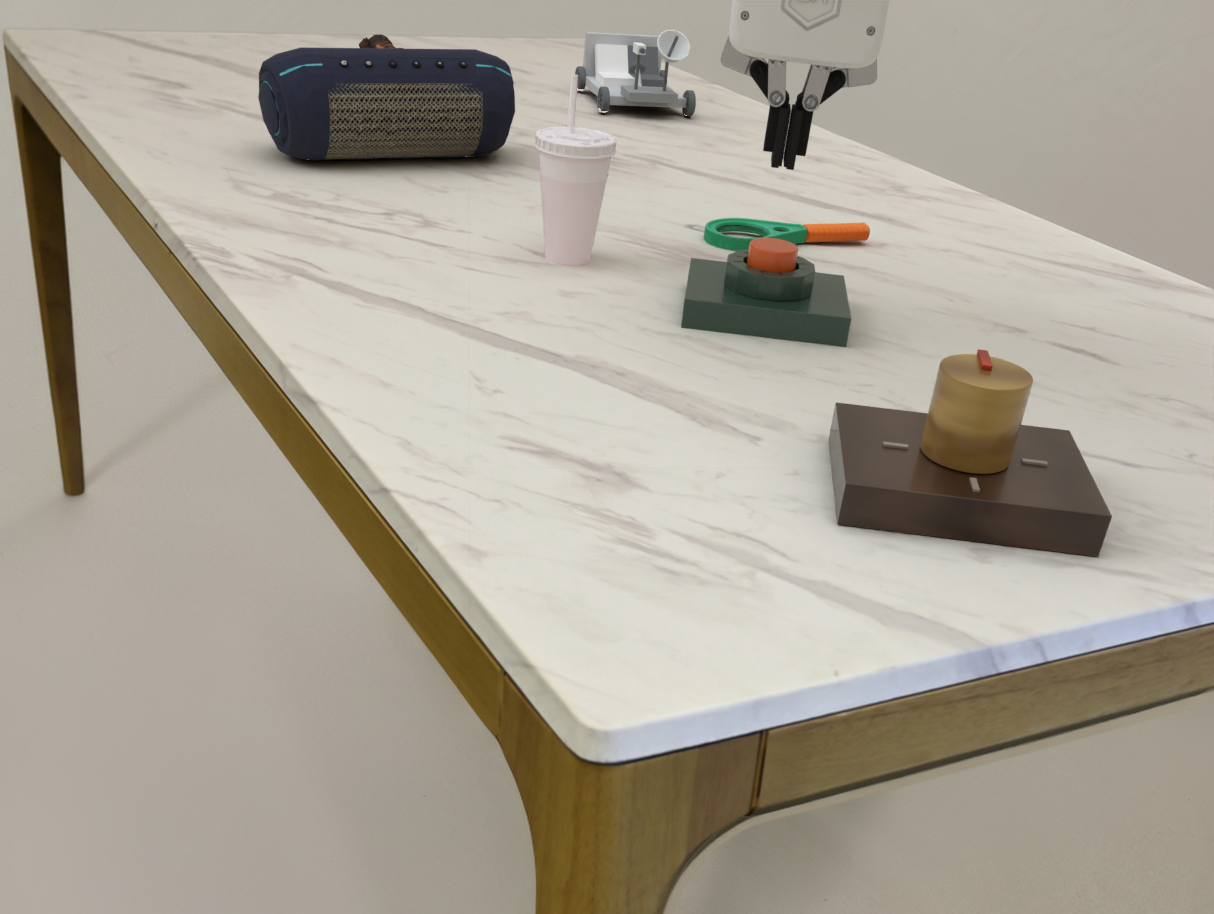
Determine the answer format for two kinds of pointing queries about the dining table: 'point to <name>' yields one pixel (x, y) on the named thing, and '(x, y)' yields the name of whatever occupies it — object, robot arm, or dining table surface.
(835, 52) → the robot arm
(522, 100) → the dining table surface
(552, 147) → the smoothie
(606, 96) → the toy car
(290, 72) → the portable speaker
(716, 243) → the magnifying glass
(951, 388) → the dial
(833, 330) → the button box
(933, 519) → the holder base
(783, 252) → the button
